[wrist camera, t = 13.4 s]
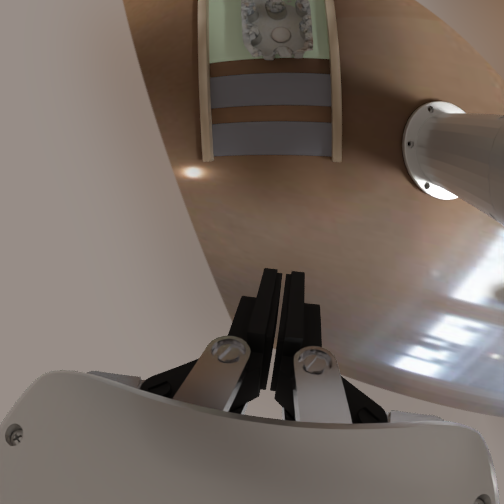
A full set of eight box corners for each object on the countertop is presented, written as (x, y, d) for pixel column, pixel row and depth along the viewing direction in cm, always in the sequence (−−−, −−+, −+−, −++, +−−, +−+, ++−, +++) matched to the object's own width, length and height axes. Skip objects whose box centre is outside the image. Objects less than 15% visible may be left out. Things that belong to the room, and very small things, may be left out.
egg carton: (314, 61, 25) (316, 52, 21) (248, 63, 26) (241, 55, 23) (306, -10, 20) (307, -24, 17) (244, -7, 22) (237, -21, 18)
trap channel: (328, -21, 19) (330, -29, 17) (339, 161, 30) (343, 163, 27) (201, -13, 21) (195, -21, 19) (206, 160, 32) (199, 163, 30)
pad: (321, -15, 20) (321, -16, 20) (329, 59, 25) (329, 59, 24) (209, -9, 22) (208, -10, 22) (209, 63, 27) (209, 63, 27)
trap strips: (330, 74, 25) (330, 74, 25) (331, 156, 30) (331, 156, 30) (210, 78, 28) (209, 77, 27) (213, 156, 32) (213, 156, 32)
